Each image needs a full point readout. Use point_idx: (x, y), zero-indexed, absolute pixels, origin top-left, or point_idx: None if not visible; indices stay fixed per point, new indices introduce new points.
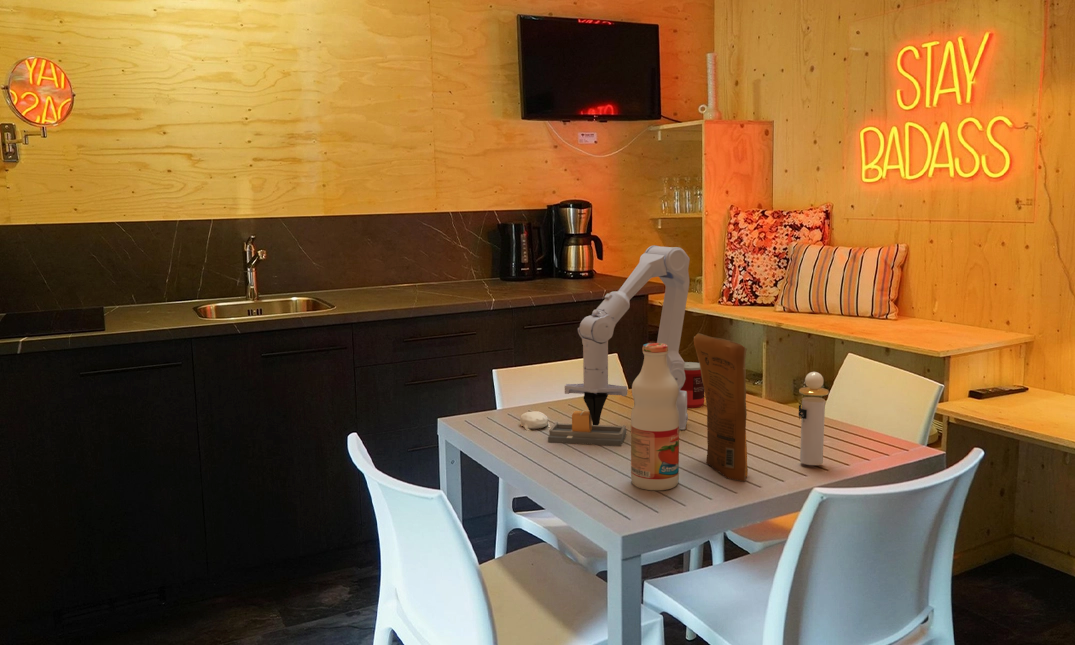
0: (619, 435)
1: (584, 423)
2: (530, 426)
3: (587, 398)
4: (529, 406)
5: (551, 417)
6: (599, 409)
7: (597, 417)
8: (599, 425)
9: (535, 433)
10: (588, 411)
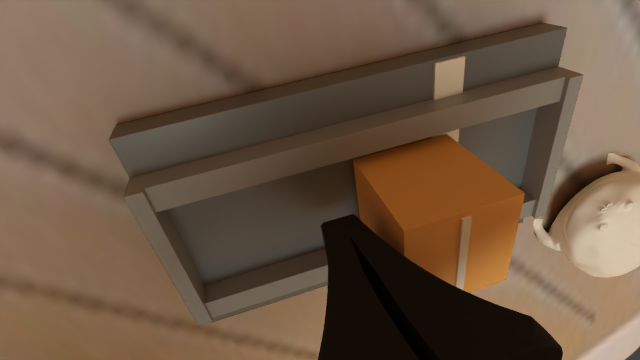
0: (141, 187)
1: (407, 187)
2: (621, 174)
3: (520, 351)
4: (588, 342)
5: (530, 307)
6: (340, 307)
7: (338, 254)
8: None
9: (592, 133)
10: None
